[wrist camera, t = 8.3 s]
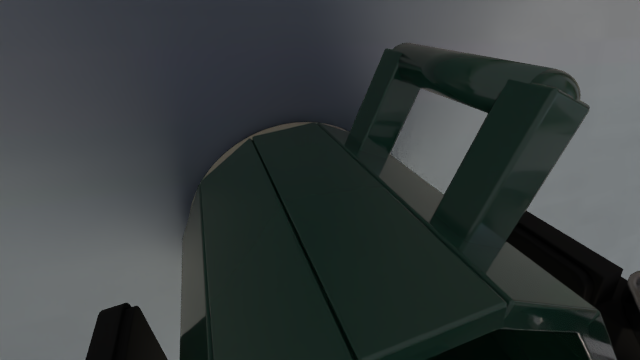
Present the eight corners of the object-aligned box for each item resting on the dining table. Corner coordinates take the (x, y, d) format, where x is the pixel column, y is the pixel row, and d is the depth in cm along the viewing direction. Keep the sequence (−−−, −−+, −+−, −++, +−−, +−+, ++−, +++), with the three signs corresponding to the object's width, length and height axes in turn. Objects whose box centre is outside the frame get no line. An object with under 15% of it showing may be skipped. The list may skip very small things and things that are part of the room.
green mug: (345, 307, 15) (474, 555, 8) (162, 294, 12) (129, 678, 5) (460, 78, 12) (812, 175, 5) (255, -20, 9) (474, -95, 2)
